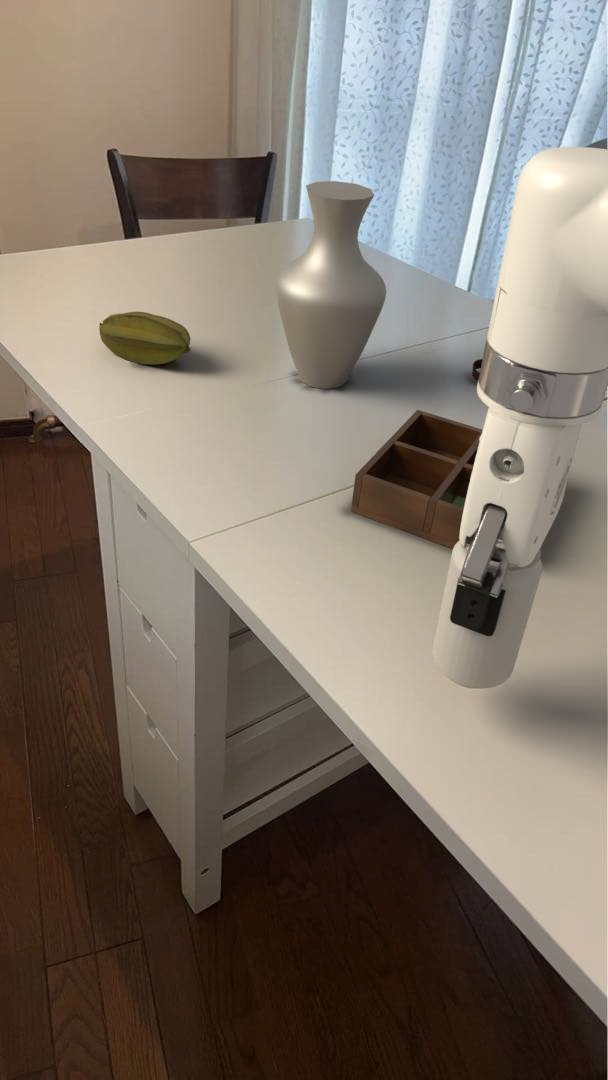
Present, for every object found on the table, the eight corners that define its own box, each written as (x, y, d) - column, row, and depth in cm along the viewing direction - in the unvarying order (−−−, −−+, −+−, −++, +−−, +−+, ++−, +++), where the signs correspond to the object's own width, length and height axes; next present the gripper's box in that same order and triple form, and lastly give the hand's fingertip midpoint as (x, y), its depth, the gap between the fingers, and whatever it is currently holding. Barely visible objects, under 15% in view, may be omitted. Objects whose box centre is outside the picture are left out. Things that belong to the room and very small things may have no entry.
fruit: (177, 339, 118) (176, 295, 114) (193, 375, 109) (193, 329, 105) (98, 344, 115) (94, 299, 111) (109, 382, 106) (104, 335, 102)
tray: (548, 488, 93) (559, 453, 90) (504, 568, 81) (516, 530, 78) (411, 443, 99) (417, 409, 96) (350, 511, 86) (355, 474, 84)
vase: (395, 385, 111) (424, 196, 96) (318, 413, 103) (337, 212, 88) (325, 348, 120) (342, 169, 104) (249, 371, 112) (256, 181, 96)
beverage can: (418, 675, 62) (442, 554, 55) (446, 626, 67) (471, 508, 59) (498, 707, 60) (533, 585, 53) (521, 654, 64) (556, 535, 57)
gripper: (571, 455, 41) (501, 694, 52) (632, 343, 53) (565, 554, 64) (434, 416, 43) (394, 651, 54) (522, 318, 56) (476, 525, 67)
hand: (487, 597), depth 59 cm, fingers closed on beverage can, 6 cm apart
